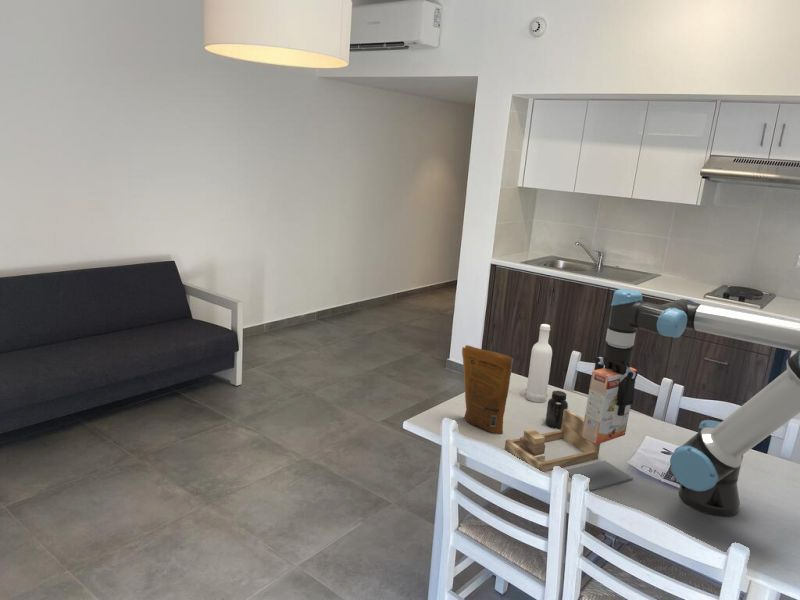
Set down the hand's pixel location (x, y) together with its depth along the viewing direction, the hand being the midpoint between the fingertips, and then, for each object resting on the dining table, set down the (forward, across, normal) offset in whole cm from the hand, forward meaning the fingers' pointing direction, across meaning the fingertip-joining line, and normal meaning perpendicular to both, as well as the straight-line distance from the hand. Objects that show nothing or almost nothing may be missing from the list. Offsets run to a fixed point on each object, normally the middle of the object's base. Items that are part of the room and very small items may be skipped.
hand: (606, 419), depth 173 cm
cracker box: (+6, 0, 0) cm, 6 cm away
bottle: (+19, +53, -21) cm, 60 cm away
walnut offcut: (+16, +16, +12) cm, 25 cm away
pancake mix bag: (+19, +40, +14) cm, 46 cm away
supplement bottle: (+19, +32, -12) cm, 39 cm away
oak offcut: (+13, +16, +12) cm, 23 cm away
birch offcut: (+19, +16, +12) cm, 27 cm away
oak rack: (+18, +16, +4) cm, 24 cm away
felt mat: (+18, 0, 0) cm, 18 cm away
